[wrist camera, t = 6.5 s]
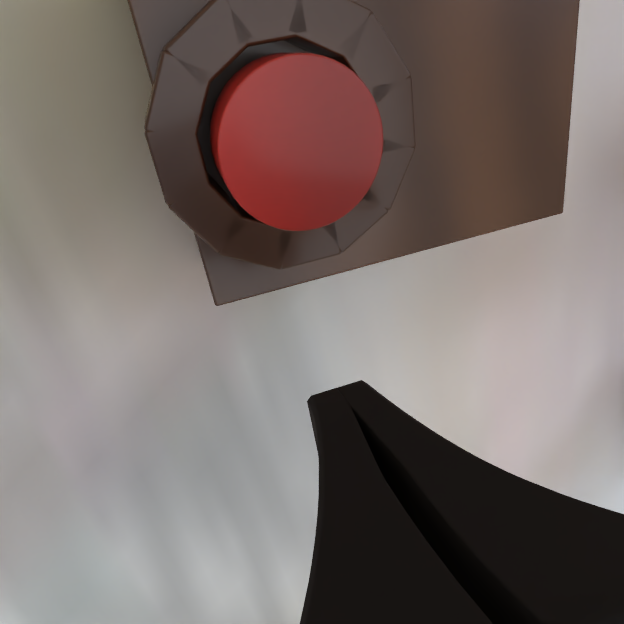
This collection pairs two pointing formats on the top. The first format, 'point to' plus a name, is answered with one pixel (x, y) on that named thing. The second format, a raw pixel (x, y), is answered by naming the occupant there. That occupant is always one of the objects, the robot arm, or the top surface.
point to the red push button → (296, 139)
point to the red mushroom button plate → (394, 115)
